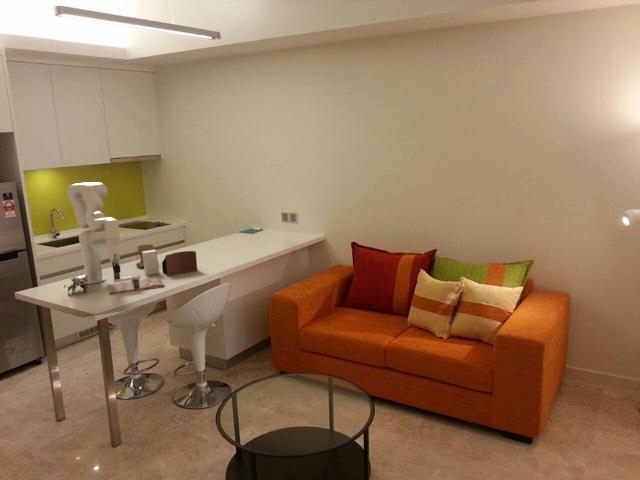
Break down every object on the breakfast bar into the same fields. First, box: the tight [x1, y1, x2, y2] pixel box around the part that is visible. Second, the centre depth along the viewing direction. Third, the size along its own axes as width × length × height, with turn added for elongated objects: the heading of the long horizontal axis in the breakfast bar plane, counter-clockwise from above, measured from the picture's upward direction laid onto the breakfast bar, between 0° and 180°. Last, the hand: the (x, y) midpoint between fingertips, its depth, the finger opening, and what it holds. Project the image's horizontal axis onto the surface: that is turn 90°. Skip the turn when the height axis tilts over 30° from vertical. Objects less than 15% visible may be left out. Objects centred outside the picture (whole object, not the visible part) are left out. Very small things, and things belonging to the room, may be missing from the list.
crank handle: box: [112, 267, 141, 283], centre depth 308 cm, size 14×4×8 cm, turn 115°
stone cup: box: [135, 243, 155, 269], centre depth 366 cm, size 15×12×15 cm
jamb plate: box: [106, 273, 165, 296], centre depth 317 cm, size 30×18×6 cm, turn 115°
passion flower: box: [63, 276, 90, 295], centre depth 308 cm, size 11×11×12 cm
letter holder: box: [161, 250, 198, 277], centre depth 347 cm, size 10×20×14 cm, turn 122°
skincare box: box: [142, 249, 160, 276], centre depth 345 cm, size 8×6×15 cm
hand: (116, 270), depth 305 cm, fingers open, 9 cm apart
